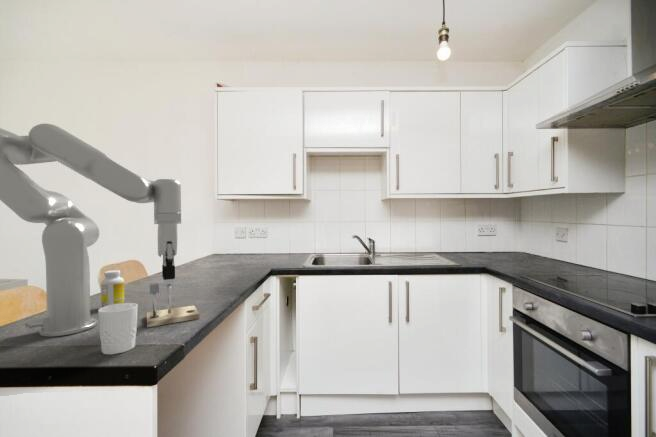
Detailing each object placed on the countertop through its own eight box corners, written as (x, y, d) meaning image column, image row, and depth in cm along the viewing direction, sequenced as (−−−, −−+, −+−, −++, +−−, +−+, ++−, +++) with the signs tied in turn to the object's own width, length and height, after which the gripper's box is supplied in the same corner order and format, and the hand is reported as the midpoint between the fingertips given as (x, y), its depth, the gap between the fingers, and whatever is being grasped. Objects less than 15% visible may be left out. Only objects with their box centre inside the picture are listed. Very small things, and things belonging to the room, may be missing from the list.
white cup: (124, 340, 80) (123, 301, 80) (145, 344, 77) (145, 304, 77) (90, 352, 72) (90, 310, 72) (113, 358, 69) (112, 313, 69)
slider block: (164, 314, 95) (163, 266, 95) (163, 311, 98) (162, 265, 98) (175, 312, 96) (174, 265, 96) (173, 309, 99) (173, 264, 99)
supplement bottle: (126, 304, 114) (126, 269, 114) (121, 309, 107) (120, 272, 107) (105, 306, 112) (104, 270, 112) (98, 311, 105) (97, 273, 105)
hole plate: (147, 327, 89) (147, 321, 89) (146, 316, 99) (146, 311, 99) (199, 318, 96) (199, 313, 96) (194, 309, 106) (194, 304, 106)
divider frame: (150, 316, 92) (149, 285, 92) (149, 314, 95) (149, 283, 95) (197, 309, 99) (197, 280, 99) (196, 307, 102) (195, 279, 102)
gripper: (153, 219, 102) (154, 275, 102) (155, 219, 88) (155, 284, 88) (178, 219, 106) (179, 272, 106) (184, 219, 92) (184, 281, 92)
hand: (168, 277), depth 97 cm, fingers closed on slider block, 3 cm apart
